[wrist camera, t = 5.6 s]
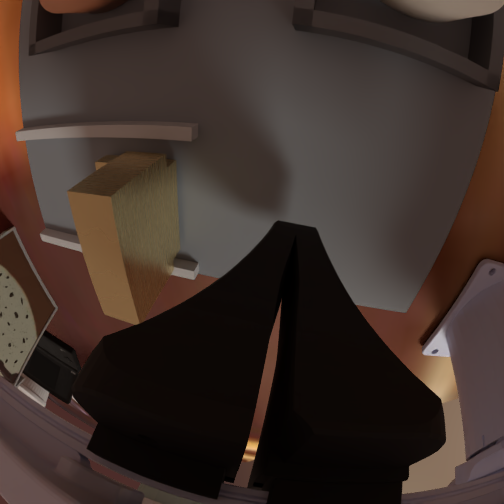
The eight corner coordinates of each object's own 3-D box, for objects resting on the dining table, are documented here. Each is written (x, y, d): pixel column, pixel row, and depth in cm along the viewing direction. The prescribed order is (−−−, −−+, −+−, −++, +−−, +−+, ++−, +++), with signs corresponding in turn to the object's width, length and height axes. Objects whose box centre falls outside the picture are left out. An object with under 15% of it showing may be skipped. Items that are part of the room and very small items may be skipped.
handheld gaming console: (62, 348, 26) (43, 416, 24) (94, 348, 33) (75, 407, 31) (9, 302, 28) (-6, 364, 25) (42, 308, 35) (25, 364, 32)
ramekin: (57, 390, 49) (47, 408, 45) (49, 392, 55) (41, 407, 50) (19, 358, 45) (8, 376, 41) (16, 364, 51) (7, 379, 47)
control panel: (478, -36, 4) (520, -51, 1) (399, 284, 14) (410, 337, 11) (56, -42, 6) (9, -44, 3) (67, 219, 16) (33, 251, 13)
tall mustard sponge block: (176, 146, 10) (110, 196, 6) (181, 257, 13) (140, 326, 10) (105, 143, 10) (34, 187, 7) (120, 244, 13) (73, 302, 10)
